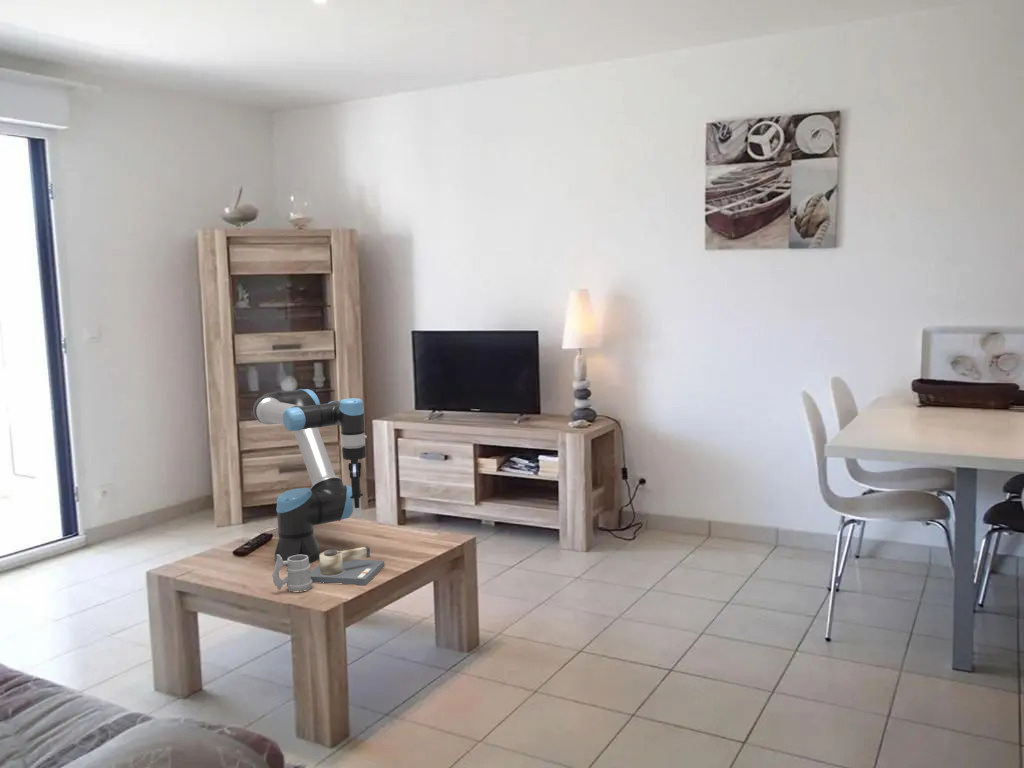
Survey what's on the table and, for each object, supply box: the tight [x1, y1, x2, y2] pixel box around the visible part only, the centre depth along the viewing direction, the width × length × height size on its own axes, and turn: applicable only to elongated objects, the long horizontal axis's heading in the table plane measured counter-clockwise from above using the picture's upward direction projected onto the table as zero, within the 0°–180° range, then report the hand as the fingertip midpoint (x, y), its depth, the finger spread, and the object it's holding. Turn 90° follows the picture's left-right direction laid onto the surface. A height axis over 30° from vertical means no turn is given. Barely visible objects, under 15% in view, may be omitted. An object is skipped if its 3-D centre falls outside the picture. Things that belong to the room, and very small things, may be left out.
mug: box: [272, 554, 313, 593], centre depth 260 cm, size 8×12×12 cm, turn 119°
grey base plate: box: [310, 559, 385, 586], centre depth 273 cm, size 20×17×2 cm
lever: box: [319, 545, 371, 575], centre depth 271 cm, size 16×7×7 cm, turn 118°
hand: (357, 516), depth 279 cm, fingers closed
